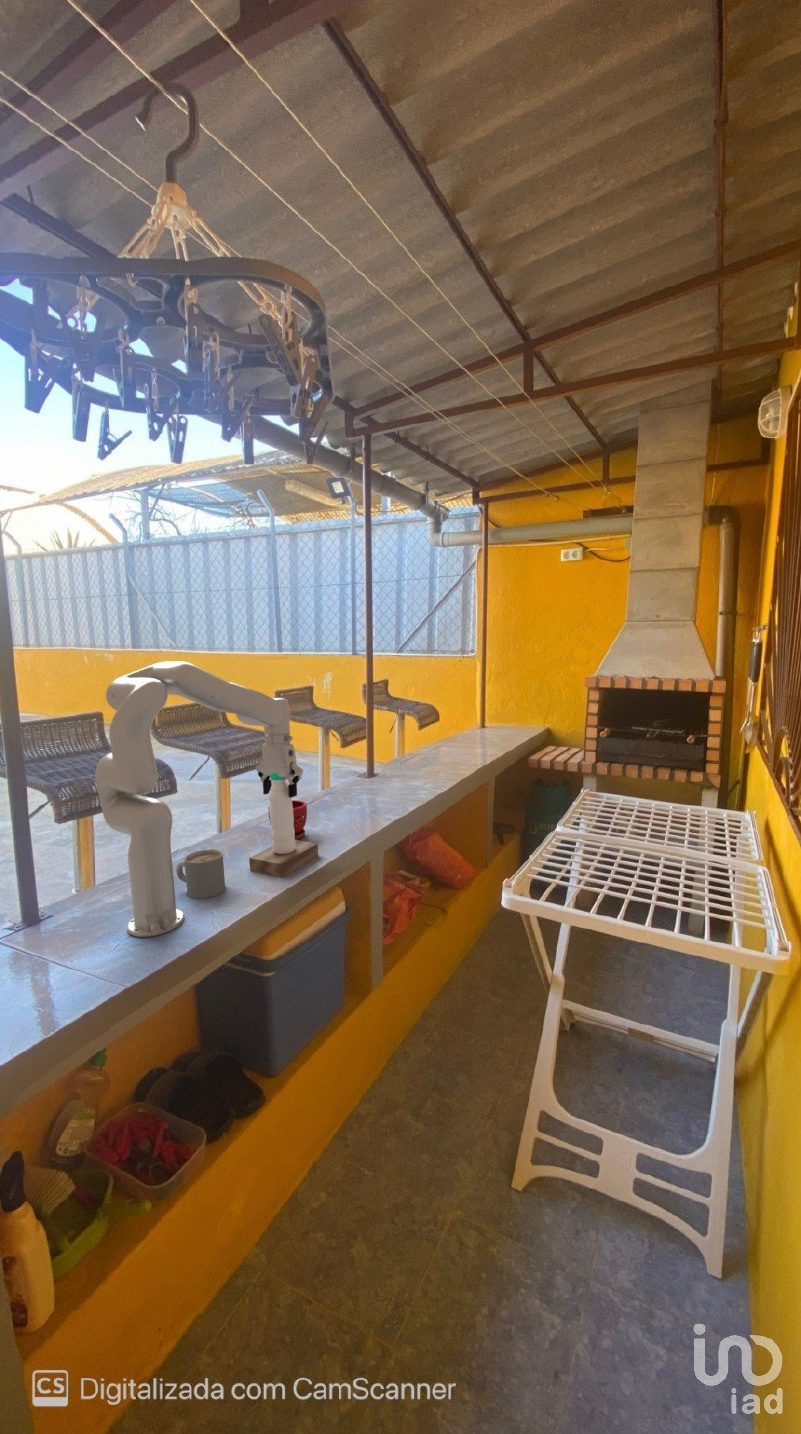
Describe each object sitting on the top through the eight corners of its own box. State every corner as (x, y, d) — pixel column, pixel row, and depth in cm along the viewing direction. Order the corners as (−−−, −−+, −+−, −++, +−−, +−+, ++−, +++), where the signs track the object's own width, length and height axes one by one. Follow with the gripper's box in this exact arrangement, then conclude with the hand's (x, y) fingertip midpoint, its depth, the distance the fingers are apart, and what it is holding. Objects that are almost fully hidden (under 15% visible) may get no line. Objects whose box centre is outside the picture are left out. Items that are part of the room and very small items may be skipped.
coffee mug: (232, 885, 157) (230, 851, 156) (207, 901, 148) (204, 865, 147) (196, 879, 163) (193, 846, 162) (169, 893, 154) (166, 858, 153)
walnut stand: (318, 855, 178) (317, 843, 177) (281, 877, 162) (281, 864, 162) (288, 850, 183) (287, 838, 183) (250, 870, 168) (249, 858, 167)
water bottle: (283, 856, 167) (277, 775, 164) (267, 852, 171) (261, 772, 168) (300, 849, 173) (295, 770, 169) (285, 844, 177) (279, 767, 174)
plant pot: (304, 843, 190) (302, 808, 188) (266, 844, 190) (263, 810, 189) (311, 830, 203) (309, 798, 201) (275, 831, 203) (273, 799, 202)
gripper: (308, 738, 167) (310, 795, 169) (263, 736, 175) (266, 789, 177) (292, 742, 160) (295, 801, 162) (246, 739, 168) (249, 795, 170)
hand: (280, 795), depth 170 cm, fingers open, 9 cm apart
